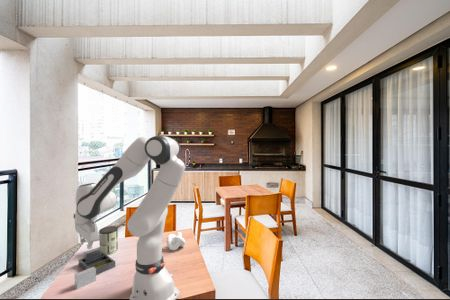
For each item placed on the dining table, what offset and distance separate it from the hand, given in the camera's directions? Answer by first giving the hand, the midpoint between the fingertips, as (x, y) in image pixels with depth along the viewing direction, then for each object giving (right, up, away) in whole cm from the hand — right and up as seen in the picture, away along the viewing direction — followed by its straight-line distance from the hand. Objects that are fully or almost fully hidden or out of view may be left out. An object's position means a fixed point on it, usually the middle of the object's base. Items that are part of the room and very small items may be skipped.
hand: (86, 245), depth 101 cm
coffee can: (-6, -18, +31) cm, 37 cm away
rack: (-4, -18, +14) cm, 23 cm away
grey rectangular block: (0, -19, 0) cm, 19 cm away
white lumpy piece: (+35, -19, +37) cm, 54 cm away
